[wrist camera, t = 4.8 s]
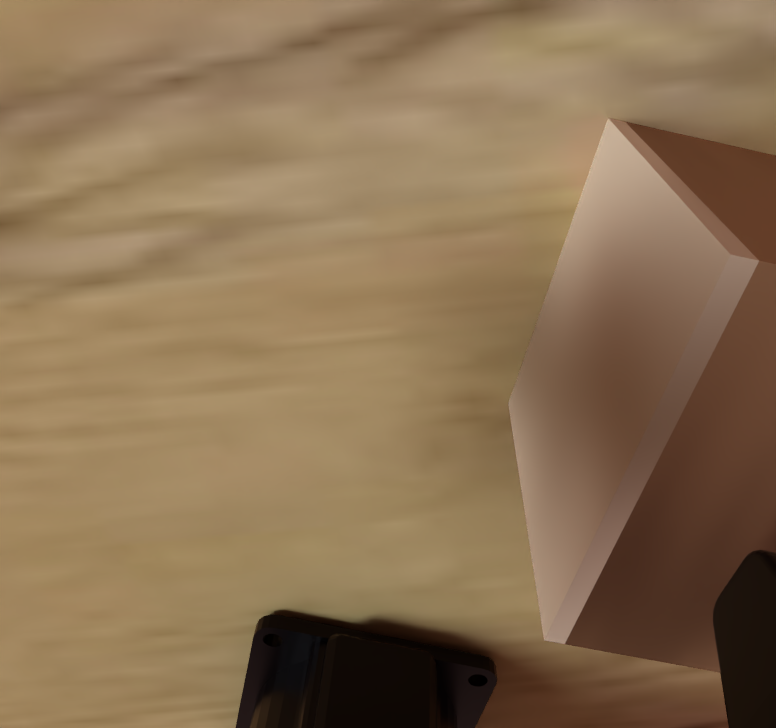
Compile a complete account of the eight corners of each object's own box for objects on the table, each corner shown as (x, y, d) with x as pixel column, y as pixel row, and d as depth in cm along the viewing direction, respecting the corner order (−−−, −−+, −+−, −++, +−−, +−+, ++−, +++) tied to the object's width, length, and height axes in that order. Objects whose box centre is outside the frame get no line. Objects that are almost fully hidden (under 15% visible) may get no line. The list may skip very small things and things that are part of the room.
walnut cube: (508, 402, 15) (776, 456, 16) (544, 639, 10) (940, 712, 11) (608, 117, 12) (939, 192, 13) (730, 254, 7) (1281, 373, 8)
